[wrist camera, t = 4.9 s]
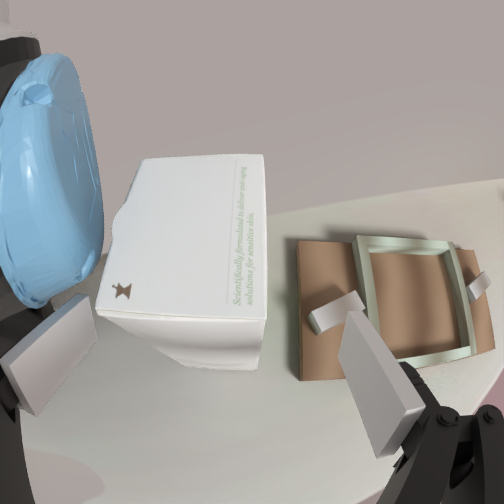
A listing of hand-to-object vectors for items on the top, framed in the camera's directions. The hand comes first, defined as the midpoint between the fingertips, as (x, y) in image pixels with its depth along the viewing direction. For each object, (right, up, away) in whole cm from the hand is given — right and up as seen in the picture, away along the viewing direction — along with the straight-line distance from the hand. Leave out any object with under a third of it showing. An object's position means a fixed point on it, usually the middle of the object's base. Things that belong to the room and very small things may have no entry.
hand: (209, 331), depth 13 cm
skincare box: (-1, -3, +11) cm, 12 cm away
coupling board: (+18, -2, +12) cm, 22 cm away
